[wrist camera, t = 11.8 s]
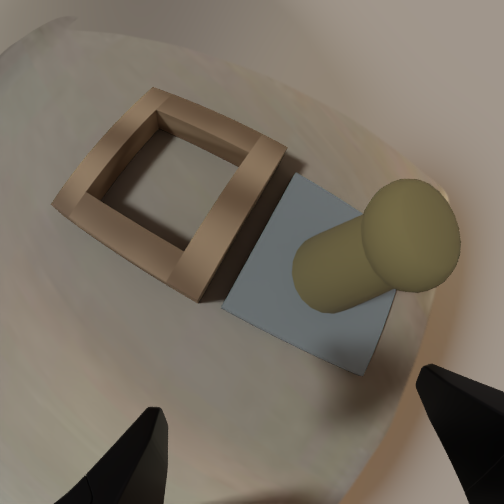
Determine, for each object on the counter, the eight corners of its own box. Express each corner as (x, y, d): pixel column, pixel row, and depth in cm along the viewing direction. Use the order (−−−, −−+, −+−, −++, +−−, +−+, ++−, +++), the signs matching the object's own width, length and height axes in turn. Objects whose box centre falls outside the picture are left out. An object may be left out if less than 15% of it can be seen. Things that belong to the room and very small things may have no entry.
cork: (278, 247, 20) (357, 167, 9) (345, 224, 21) (440, 153, 11) (310, 327, 18) (422, 323, 8) (374, 294, 20) (488, 264, 9)
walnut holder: (198, 303, 18) (197, 300, 16) (64, 216, 18) (50, 204, 16) (279, 164, 22) (287, 147, 20) (155, 105, 22) (152, 87, 19)
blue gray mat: (357, 375, 19) (362, 376, 18) (220, 307, 19) (221, 307, 18) (402, 248, 22) (408, 245, 22) (292, 177, 22) (295, 172, 21)
